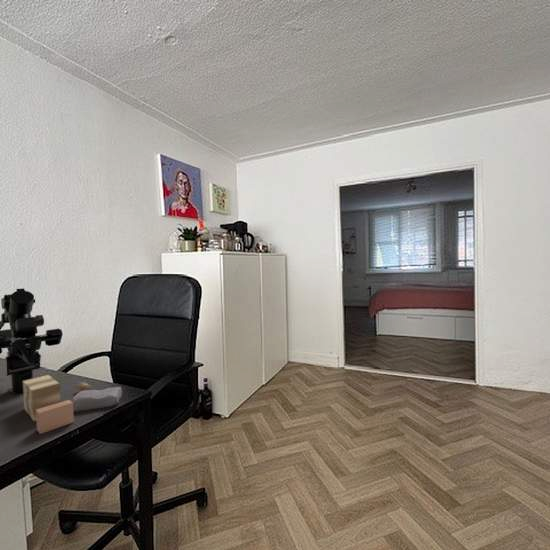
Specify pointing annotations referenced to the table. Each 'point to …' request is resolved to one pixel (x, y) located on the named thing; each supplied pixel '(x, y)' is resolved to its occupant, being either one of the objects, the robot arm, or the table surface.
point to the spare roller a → (83, 387)
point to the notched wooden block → (40, 394)
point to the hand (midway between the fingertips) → (30, 363)
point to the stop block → (54, 416)
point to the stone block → (96, 398)
